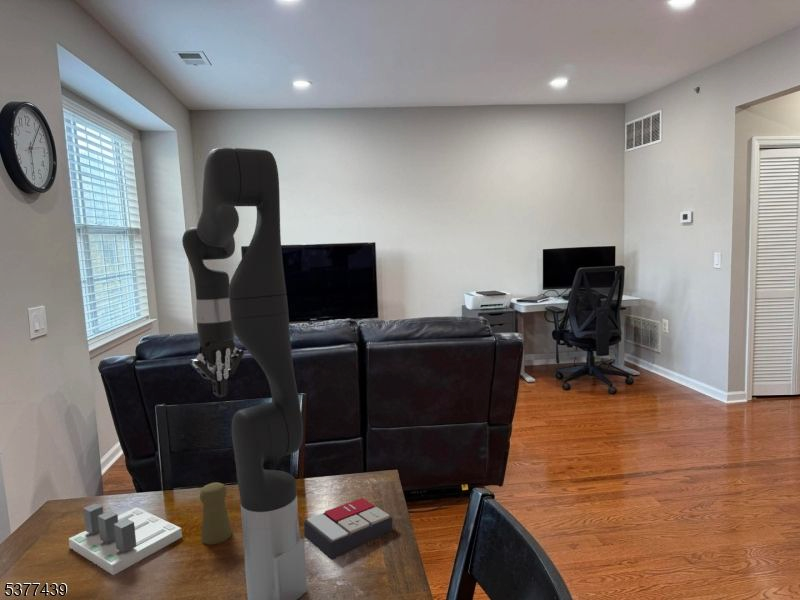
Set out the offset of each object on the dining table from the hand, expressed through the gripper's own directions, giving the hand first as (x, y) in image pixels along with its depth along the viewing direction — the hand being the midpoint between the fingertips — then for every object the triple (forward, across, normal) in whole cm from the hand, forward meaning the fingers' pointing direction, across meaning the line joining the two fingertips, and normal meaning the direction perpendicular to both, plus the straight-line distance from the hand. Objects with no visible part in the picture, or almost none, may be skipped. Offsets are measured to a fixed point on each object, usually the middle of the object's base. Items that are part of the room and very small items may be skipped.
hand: (221, 395), depth 111 cm
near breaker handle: (+25, -22, +3) cm, 33 cm away
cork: (+27, -8, -6) cm, 29 cm away
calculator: (+28, +7, -29) cm, 41 cm away
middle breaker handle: (+25, -22, +8) cm, 34 cm away
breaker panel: (+27, -19, +8) cm, 34 cm away
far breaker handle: (+25, -22, +14) cm, 36 cm away
